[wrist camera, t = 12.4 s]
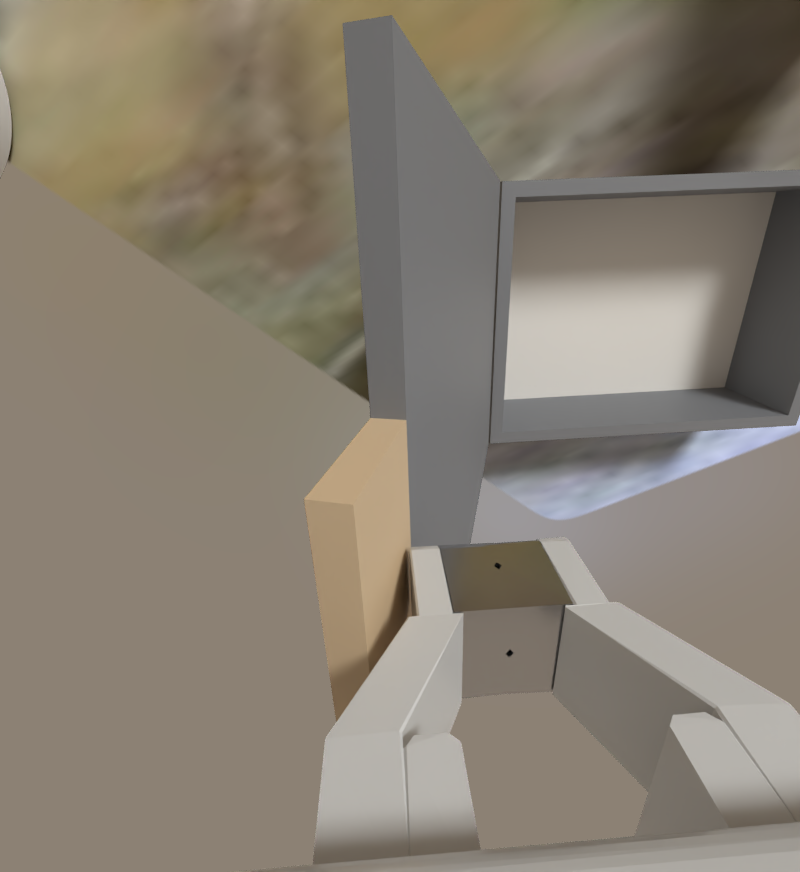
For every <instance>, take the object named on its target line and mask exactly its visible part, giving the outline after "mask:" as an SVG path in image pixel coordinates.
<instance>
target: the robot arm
mask: <svg viewBox="0 0 800 872" xmlns="http://www.w3.org/2000/svg"><path fill="white" fill-rule="evenodd" d="M11 137H12V121H11V110H10V104H9V98H8V94H7V90H6V86H5V82H4V79H3V76H2V73H1V70H0V178H1V176H2V174H3V172H4V169H5V167H6V164H7V161H8V157H9V152H10V147H11ZM409 558H410V588H411V610H412V617H408V618H407V619H406V621H405V622H404V624H403V625H402V627H401V628H400V630H399V631H398V633H397V634H396V636H395V637H394V638H393V640H392V641H391V643H390V644H389V646H388V647H387V649H386V650H385V652H384V653H383V655H382V656H381V658H380V659H379V660H378V662H377V663H376V665H375V666H374V668H373V669H372V671H371V672H370V674H369V675H368V677H367V678H366V680H365V681H364V682H363V684H362V685H361V687H360V688H359V690H358V691H357V693H356V694H355V696H354V697H353V699H352V700H351V702H350V703H349V704H348V706H347V707H346V709H345V710H344V712H343V713H342V715H341V716H340V718H339V719H338V721H337V722H336V724H335V725H334V727H333V728H332V730H331V731H330V733H329V734H328V735H327V737H326V738H325V747H324V758H323V767H322V777H321V787H320V798H319V807H318V817H317V827H316V837H315V847H314V857H313V865H302V866H291V867H281V868H268V869H257V870H246V871H235V872H800V715H799V714H798V712H797V711H796V710H795V709H794V708H793V707H792V706H791V705H790V704H789V703H788V702H786V701H785V700H783V699H781V698H780V697H778V696H776V695H775V694H773V693H771V692H769V691H768V690H766V689H764V688H763V687H761V686H759V685H758V684H756V683H754V682H753V681H751V680H749V679H747V678H746V677H744V676H742V675H741V674H739V673H737V672H736V671H734V670H732V669H730V668H729V667H727V666H726V665H724V664H722V663H720V662H719V661H717V660H715V659H714V658H712V657H710V656H709V655H707V654H705V653H703V652H702V651H700V650H698V649H697V648H695V647H693V646H692V645H690V644H688V643H687V642H685V641H683V640H681V639H680V638H678V637H676V636H675V635H673V634H671V633H670V632H668V631H666V630H665V629H663V628H661V627H660V626H658V625H656V624H654V623H653V622H651V621H649V620H648V619H646V618H644V617H643V616H641V615H639V614H638V613H636V612H634V611H632V610H631V609H629V608H627V607H626V606H624V605H622V604H621V603H619V602H611V603H609V601H608V600H607V599H606V597H605V595H604V594H603V592H602V591H601V589H600V587H599V586H598V584H597V583H596V581H595V580H594V578H593V577H592V575H591V574H590V572H589V571H588V569H587V567H586V566H585V564H584V563H583V562H582V560H581V558H580V557H579V555H578V554H577V552H576V550H575V549H574V547H573V546H572V544H571V543H570V541H569V540H568V539H566V538H565V537H556V538H546V539H537V540H534V541H518V542H504V543H482V544H457V545H438V546H420V547H410V551H409ZM533 692H553V695H554V696H555V697H556V698H557V699H558V700H559V702H560V703H562V705H563V706H564V707H565V708H567V710H568V711H569V712H570V713H571V714H572V715H573V716H574V717H575V718H576V719H577V720H578V721H579V722H580V723H581V724H582V725H583V726H584V727H585V728H586V729H587V730H588V731H589V732H590V733H591V734H592V735H593V736H594V737H595V738H596V739H597V740H598V741H599V742H600V743H601V744H602V745H603V746H604V747H605V748H606V749H607V750H608V752H609V753H610V754H612V755H613V757H614V758H615V759H616V760H618V762H619V763H620V764H621V765H622V766H623V767H624V768H625V769H626V770H627V771H628V772H629V773H630V774H631V775H632V776H633V777H634V778H635V779H636V780H637V781H638V782H639V783H640V784H641V785H642V786H643V787H644V788H645V789H646V790H647V791H648V795H647V798H646V801H645V805H644V808H643V811H642V814H641V817H640V820H639V824H638V827H637V830H636V833H635V836H632V837H621V838H610V839H598V840H587V841H575V842H564V843H553V844H541V845H530V846H519V847H508V848H496V849H485V850H481V849H480V844H479V838H478V833H477V827H476V822H475V816H474V811H473V805H472V800H471V794H470V789H469V783H468V778H467V772H466V767H465V761H464V756H463V750H462V745H461V742H460V741H459V740H457V739H456V738H455V737H453V736H452V735H451V734H450V731H451V728H452V726H453V723H454V721H455V718H456V715H457V713H458V710H459V708H460V705H461V702H462V698H471V697H480V696H489V695H499V694H511V693H533Z"/></svg>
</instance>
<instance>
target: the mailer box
mask: <svg viewBox="0 0 800 872" xmlns="http://www.w3.org/2000/svg"><path fill="white" fill-rule="evenodd" d="M799 415H800V170H780V171H755V172H729V173H704V174H678V175H653V176H627V177H601V178H576V179H550V180H525V181H502V182H500V196H499V218H498V241H497V263H496V285H495V308H494V330H493V352H492V374H491V397H490V419H489V442H490V444H492V443H509V442H525V441H542V440H559V439H575V438H592V437H609V436H625V435H642V434H659V433H675V432H692V431H709V430H725V429H742V428H759V427H776V426H792V425H796V423H797V420H798V418H799Z"/></svg>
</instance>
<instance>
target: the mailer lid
mask: <svg viewBox="0 0 800 872" xmlns="http://www.w3.org/2000/svg"><path fill="white" fill-rule="evenodd" d="M343 34H344V49H345V63H346V77H347V91H348V105H349V120H350V134H351V148H352V162H353V176H354V191H355V205H356V219H357V233H358V247H359V262H360V276H361V290H362V304H363V318H364V333H365V347H366V361H367V375H368V389H369V403H370V419H369V420H368V422H367V423H366V424H365V425H364V426H363V428H362V429H361V430H360V431H359V433H358V434H357V435H356V436H355V437H354V439H353V440H352V441H351V442H350V444H349V445H348V446H347V447H346V449H345V450H344V451H343V452H342V453H341V455H340V456H339V457H338V458H337V460H336V461H335V462H334V463H333V464H332V465H331V467H330V468H329V469H328V470H327V472H326V473H325V474H324V475H323V477H322V478H321V479H320V480H319V481H318V483H317V484H316V485H315V486H314V487H313V489H312V490H311V491H310V492H309V494H308V495H307V496H306V497H305V498H304V503H305V510H306V517H307V524H308V531H309V538H310V545H311V551H312V558H313V565H314V572H315V579H316V586H317V593H318V599H319V606H320V612H321V620H322V627H323V634H324V640H325V646H326V654H327V661H328V667H329V674H330V681H331V688H332V695H333V701H334V708H335V715H336V722H337V721H338V719H339V718H340V716H341V715H342V713H343V712H344V710H345V709H346V707H347V706H348V704H349V703H350V702H351V700H352V699H353V697H354V696H355V694H356V693H357V691H358V690H359V688H360V687H361V685H362V684H363V682H364V681H365V680H366V678H367V677H368V675H369V674H370V672H371V671H372V669H373V668H374V666H375V665H376V663H377V662H378V660H379V659H380V658H381V656H382V655H383V653H384V652H385V650H386V649H387V647H388V646H389V644H390V643H391V641H392V640H393V638H394V637H395V636H396V634H397V633H398V631H399V630H400V628H401V627H402V625H403V624H404V622H405V621H406V619H407V618H408V617H412V610H411V588H410V558H409V551H410V547H420V546H438V545H457V544H470V543H471V537H472V532H473V526H474V521H475V515H476V509H477V504H478V499H479V493H480V488H481V482H482V477H483V472H484V466H485V461H486V455H487V450H488V441H489V419H490V397H491V374H492V352H493V330H494V308H495V285H496V263H497V241H498V218H499V196H500V180H499V178H498V177H497V175H496V174H495V172H494V171H493V169H492V168H491V166H490V165H489V163H488V162H487V160H486V158H485V157H484V155H483V154H482V152H481V151H480V149H479V148H478V146H477V145H476V143H475V142H474V140H473V139H472V137H471V136H470V134H469V132H468V131H467V129H466V128H465V126H464V125H463V123H462V122H461V120H460V119H459V117H458V116H457V114H456V113H455V111H454V110H453V108H452V106H451V105H450V103H449V102H448V100H447V99H446V97H445V96H444V94H443V93H442V91H441V90H440V88H439V87H438V85H437V84H436V82H435V80H434V79H433V77H432V76H431V74H430V73H429V71H428V70H427V68H426V67H425V65H424V64H423V62H422V61H421V59H420V57H419V56H418V54H417V53H416V51H415V50H414V48H413V47H412V45H411V44H410V42H409V41H408V39H407V38H406V36H405V35H404V33H403V31H402V30H401V28H400V27H399V25H398V24H397V22H396V21H395V19H394V18H393V16H392V15H391V16H384V17H378V18H372V19H366V20H360V21H353V22H347V23H343Z"/></svg>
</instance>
